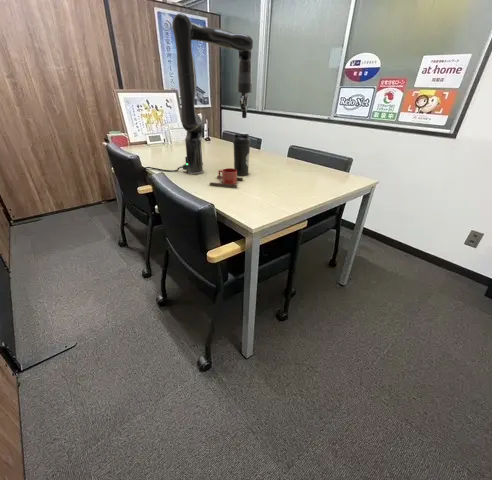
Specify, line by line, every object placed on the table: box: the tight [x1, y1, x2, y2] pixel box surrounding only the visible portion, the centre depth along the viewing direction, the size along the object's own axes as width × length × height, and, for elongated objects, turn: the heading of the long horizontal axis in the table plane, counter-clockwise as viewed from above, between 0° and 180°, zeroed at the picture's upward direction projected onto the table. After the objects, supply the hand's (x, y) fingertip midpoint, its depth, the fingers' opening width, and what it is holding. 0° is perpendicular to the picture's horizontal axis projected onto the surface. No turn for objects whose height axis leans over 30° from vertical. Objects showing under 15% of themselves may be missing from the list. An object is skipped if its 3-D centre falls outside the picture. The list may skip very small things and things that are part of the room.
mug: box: [217, 167, 238, 185], centre depth 146 cm, size 11×8×7 cm
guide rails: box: [209, 175, 244, 189], centre depth 147 cm, size 15×14×2 cm
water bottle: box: [232, 133, 252, 177], centre depth 156 cm, size 10×10×23 cm
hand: (244, 117), depth 151 cm, fingers closed
